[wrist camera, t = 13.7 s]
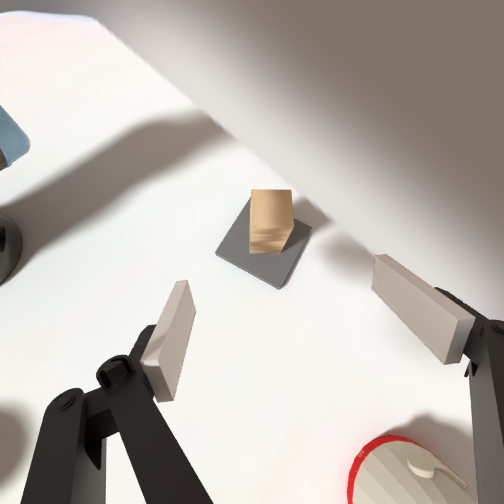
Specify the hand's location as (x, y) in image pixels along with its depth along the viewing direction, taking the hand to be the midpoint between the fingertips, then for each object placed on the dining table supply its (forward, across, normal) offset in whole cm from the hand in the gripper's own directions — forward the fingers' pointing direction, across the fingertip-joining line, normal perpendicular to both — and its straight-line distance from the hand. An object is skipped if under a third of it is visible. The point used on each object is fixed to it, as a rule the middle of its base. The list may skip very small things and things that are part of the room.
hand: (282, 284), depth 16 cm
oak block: (+22, +1, -5) cm, 23 cm away
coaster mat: (+24, +1, -6) cm, 24 cm away
